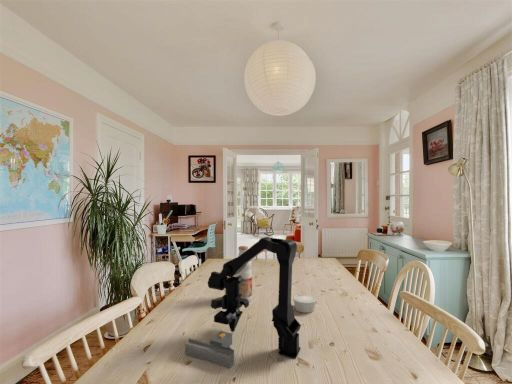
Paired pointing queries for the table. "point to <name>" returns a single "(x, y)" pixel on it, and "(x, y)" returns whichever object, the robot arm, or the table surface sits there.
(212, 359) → the rail
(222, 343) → the block
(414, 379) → the table surface
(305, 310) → the ramekin
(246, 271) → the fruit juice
